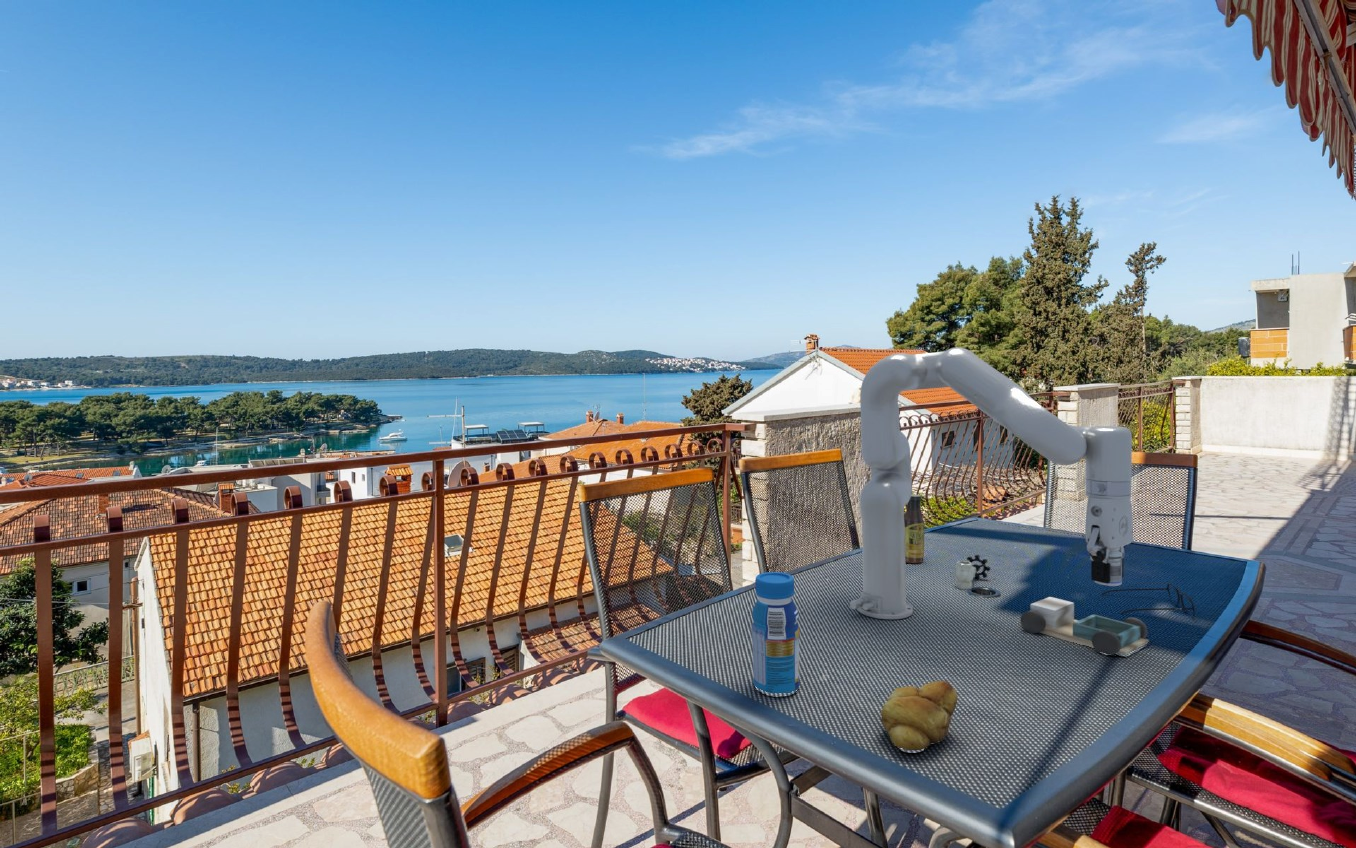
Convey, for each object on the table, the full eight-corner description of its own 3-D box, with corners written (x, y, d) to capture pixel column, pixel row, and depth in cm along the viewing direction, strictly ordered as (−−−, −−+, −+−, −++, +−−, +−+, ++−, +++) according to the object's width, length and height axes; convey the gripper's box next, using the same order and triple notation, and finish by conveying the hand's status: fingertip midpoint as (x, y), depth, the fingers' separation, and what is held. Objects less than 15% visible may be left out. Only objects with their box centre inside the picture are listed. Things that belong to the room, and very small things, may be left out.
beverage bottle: (742, 688, 114) (740, 577, 113) (771, 672, 120) (769, 567, 118) (781, 704, 108) (779, 587, 107) (810, 687, 114) (808, 576, 112)
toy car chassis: (1121, 660, 121) (1122, 633, 121) (1016, 628, 138) (1016, 604, 137) (1152, 643, 128) (1152, 618, 128) (1049, 615, 145) (1049, 592, 144)
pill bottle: (1095, 577, 132) (1095, 537, 131) (1122, 581, 129) (1123, 540, 128) (1091, 583, 128) (1092, 542, 127) (1120, 588, 125) (1120, 545, 124)
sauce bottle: (910, 565, 187) (909, 497, 186) (897, 559, 193) (896, 494, 192) (929, 563, 188) (929, 496, 187) (916, 557, 194) (915, 492, 193)
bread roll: (926, 769, 89) (926, 713, 88) (862, 743, 96) (862, 691, 95) (962, 732, 98) (962, 681, 98) (901, 710, 105) (901, 663, 104)
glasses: (1197, 623, 139) (1194, 600, 139) (1117, 624, 144) (1114, 602, 144) (1170, 601, 153) (1167, 580, 153) (1098, 603, 158) (1095, 583, 158)
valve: (974, 592, 162) (990, 581, 171) (974, 566, 162) (990, 556, 170) (948, 587, 167) (965, 576, 175) (948, 562, 166) (965, 552, 175)
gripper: (1108, 496, 119) (1108, 592, 120) (1148, 486, 129) (1147, 575, 130) (1066, 491, 126) (1066, 582, 127) (1107, 482, 135) (1106, 567, 136)
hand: (1107, 578), depth 128 cm, fingers closed on pill bottle, 4 cm apart
